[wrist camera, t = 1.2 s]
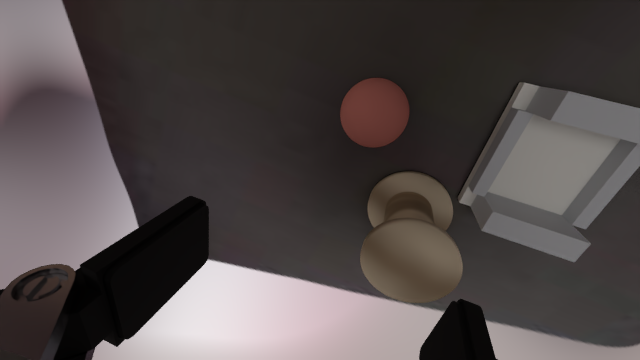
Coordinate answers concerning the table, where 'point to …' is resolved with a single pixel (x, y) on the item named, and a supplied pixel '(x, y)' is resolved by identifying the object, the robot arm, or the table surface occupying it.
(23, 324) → the robot arm
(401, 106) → the bead
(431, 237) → the bobbin
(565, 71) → the table surface
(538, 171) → the grey u-shaped holder
